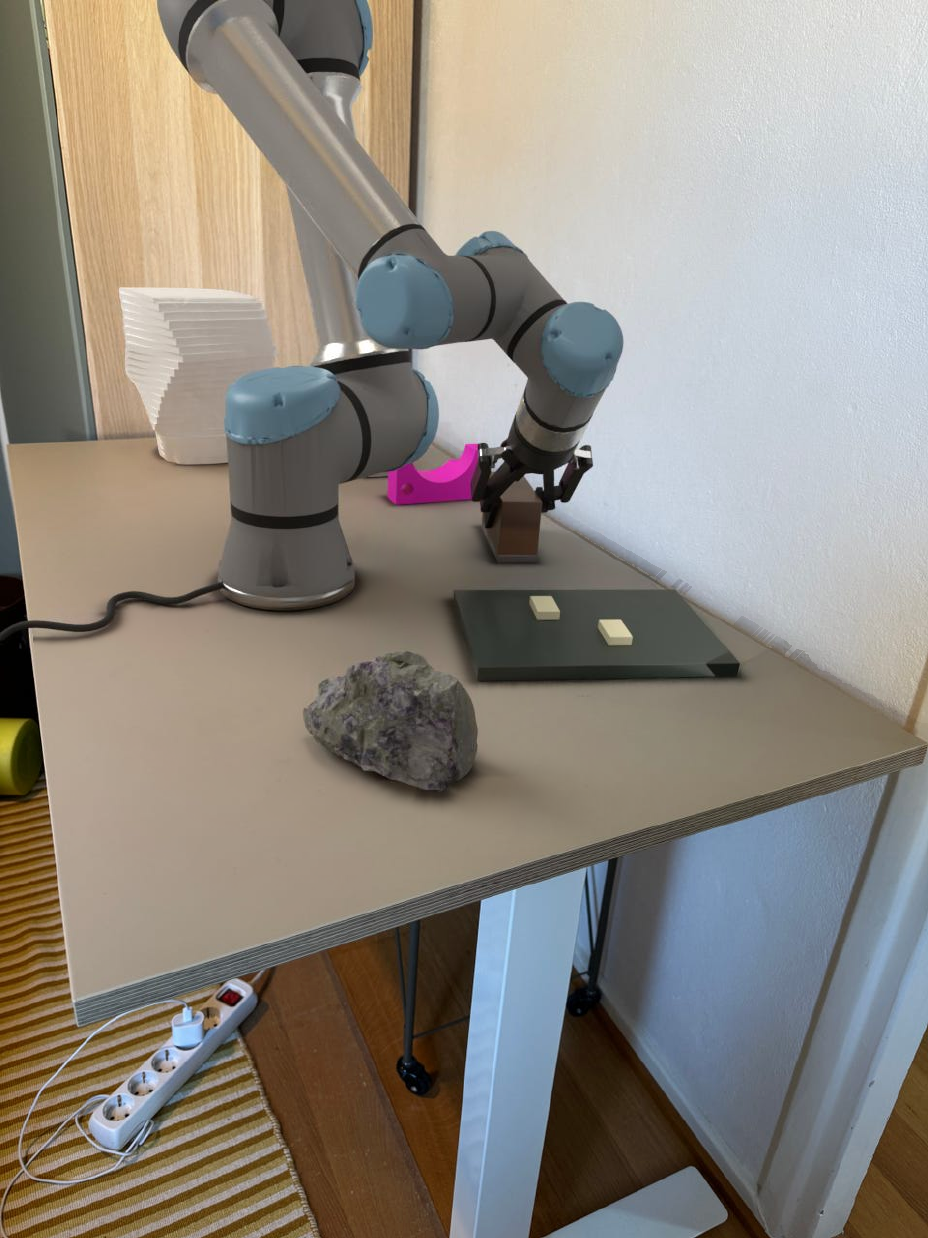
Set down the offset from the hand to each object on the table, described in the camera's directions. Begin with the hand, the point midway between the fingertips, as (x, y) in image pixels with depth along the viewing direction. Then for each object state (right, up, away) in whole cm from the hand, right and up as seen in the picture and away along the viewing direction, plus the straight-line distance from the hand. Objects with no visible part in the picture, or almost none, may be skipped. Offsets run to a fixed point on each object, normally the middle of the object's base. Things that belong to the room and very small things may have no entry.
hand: (508, 518), depth 115 cm
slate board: (+7, -15, -23) cm, 28 cm away
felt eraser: (0, -3, +1) cm, 3 cm away
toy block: (-10, +6, +19) cm, 22 cm away
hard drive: (-20, +12, +31) cm, 39 cm away
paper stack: (-46, +14, +31) cm, 58 cm away
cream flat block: (+9, -15, -26) cm, 32 cm away
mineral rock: (-12, -24, -45) cm, 52 cm away
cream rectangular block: (+3, -12, -22) cm, 25 cm away
